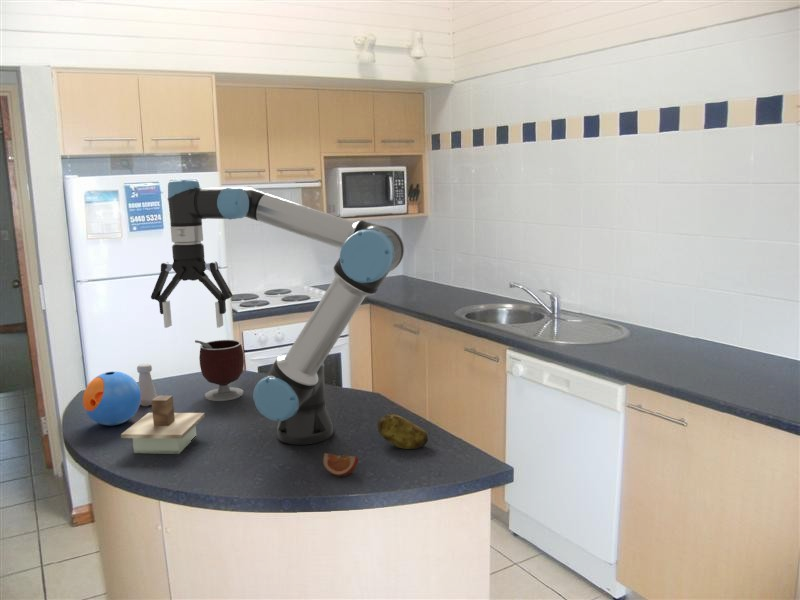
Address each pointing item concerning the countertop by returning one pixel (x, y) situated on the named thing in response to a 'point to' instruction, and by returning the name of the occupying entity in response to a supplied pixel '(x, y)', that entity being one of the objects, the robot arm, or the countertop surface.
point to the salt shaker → (146, 384)
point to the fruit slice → (340, 464)
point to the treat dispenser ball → (112, 398)
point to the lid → (163, 421)
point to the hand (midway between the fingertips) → (194, 326)
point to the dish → (163, 444)
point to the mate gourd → (221, 367)
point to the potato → (401, 432)
